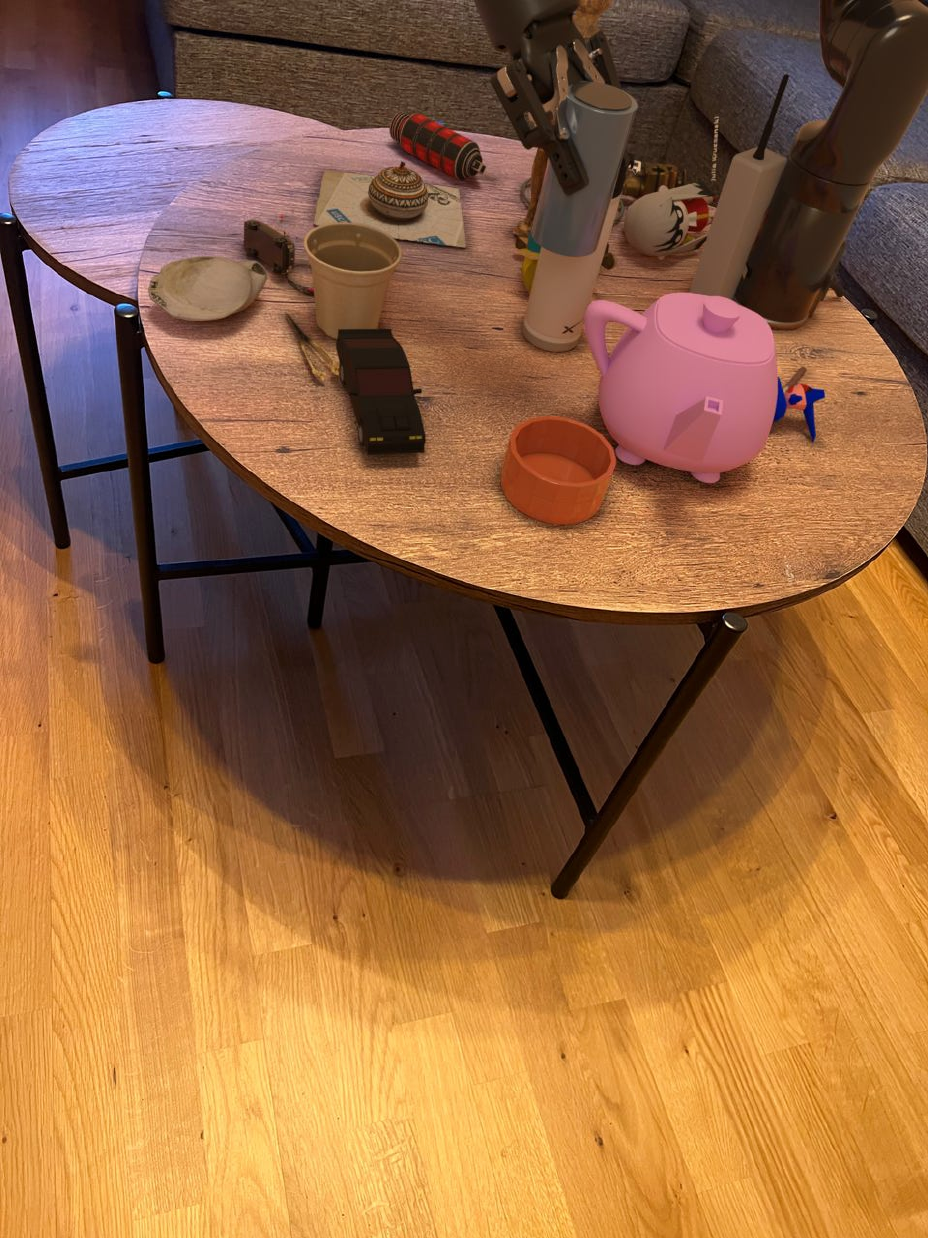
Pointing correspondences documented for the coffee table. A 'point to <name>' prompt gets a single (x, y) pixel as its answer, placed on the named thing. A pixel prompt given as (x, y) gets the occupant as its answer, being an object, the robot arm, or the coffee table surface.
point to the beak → (320, 350)
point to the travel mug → (566, 288)
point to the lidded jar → (393, 205)
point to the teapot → (686, 382)
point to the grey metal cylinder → (601, 143)
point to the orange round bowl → (557, 469)
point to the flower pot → (350, 274)
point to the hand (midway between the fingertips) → (599, 178)
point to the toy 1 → (532, 253)
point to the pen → (795, 378)
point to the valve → (653, 179)
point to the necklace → (308, 289)
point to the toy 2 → (670, 218)
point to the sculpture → (586, 21)
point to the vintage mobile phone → (739, 214)
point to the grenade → (437, 145)
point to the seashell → (206, 287)
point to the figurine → (798, 403)
